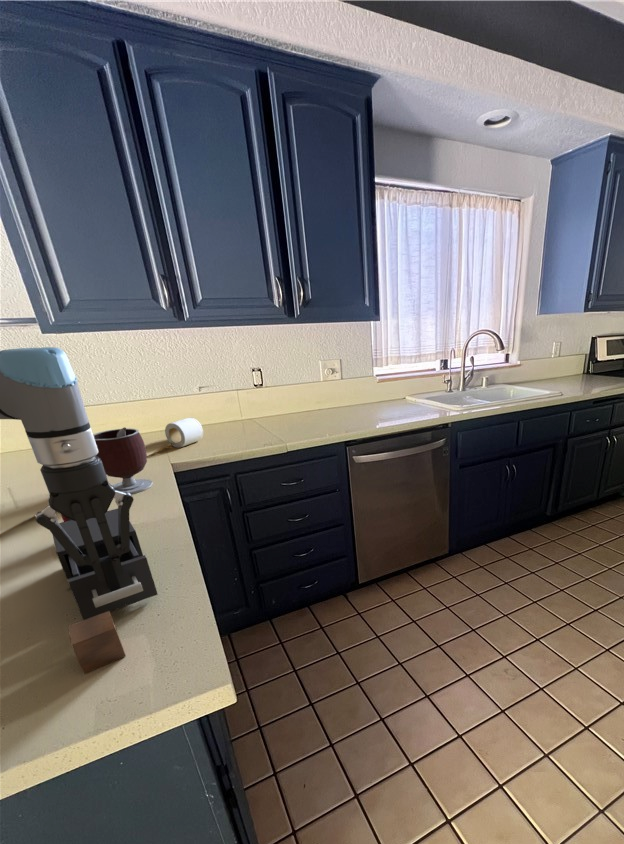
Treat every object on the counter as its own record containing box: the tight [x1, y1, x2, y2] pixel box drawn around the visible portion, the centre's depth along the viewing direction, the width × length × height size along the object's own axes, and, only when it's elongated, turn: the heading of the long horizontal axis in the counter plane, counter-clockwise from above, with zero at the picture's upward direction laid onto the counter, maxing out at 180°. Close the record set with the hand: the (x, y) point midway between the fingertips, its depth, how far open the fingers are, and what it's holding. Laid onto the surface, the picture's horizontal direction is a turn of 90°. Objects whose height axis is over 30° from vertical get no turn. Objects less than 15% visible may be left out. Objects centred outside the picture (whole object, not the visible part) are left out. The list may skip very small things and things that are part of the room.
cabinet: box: [52, 508, 144, 581], centre depth 87 cm, size 15×13×10 cm
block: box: [67, 611, 127, 675], centre depth 65 cm, size 6×6×6 cm
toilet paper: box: [164, 417, 204, 449], centre depth 175 cm, size 10×10×10 cm
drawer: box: [67, 540, 158, 621], centre depth 77 cm, size 18×12×8 cm, turn 39°
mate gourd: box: [93, 426, 153, 495], centre depth 128 cm, size 16×14×20 cm
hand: (116, 592), depth 72 cm, fingers closed
